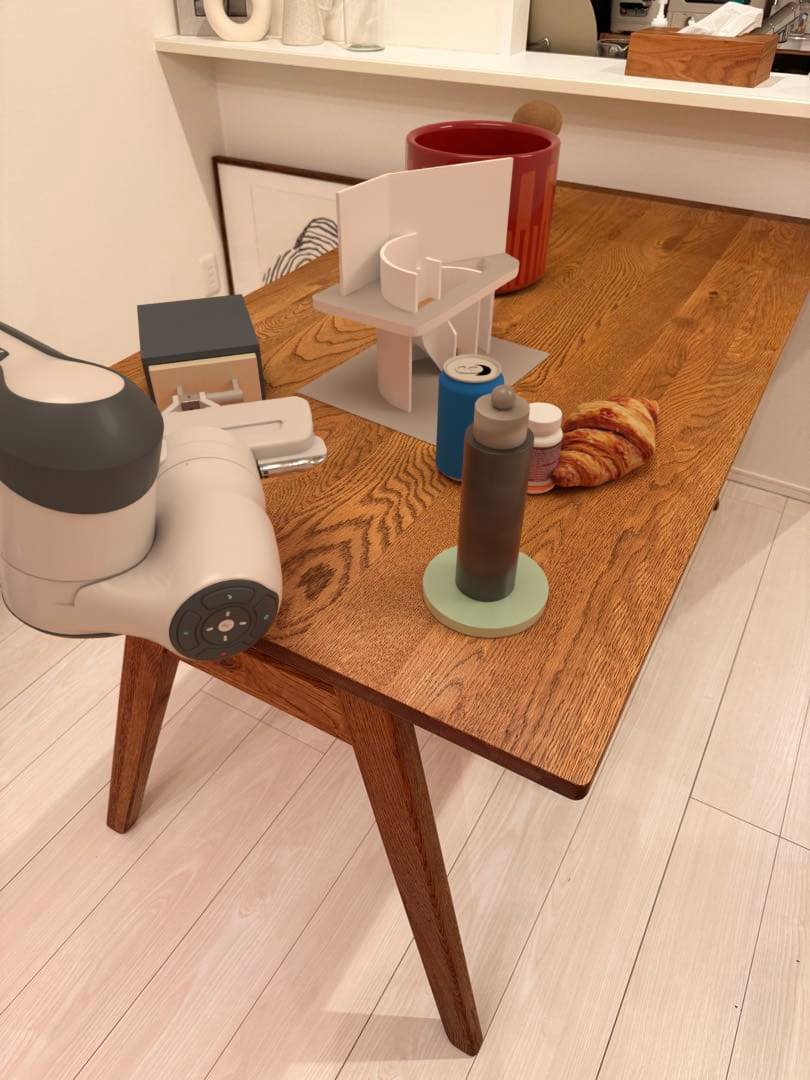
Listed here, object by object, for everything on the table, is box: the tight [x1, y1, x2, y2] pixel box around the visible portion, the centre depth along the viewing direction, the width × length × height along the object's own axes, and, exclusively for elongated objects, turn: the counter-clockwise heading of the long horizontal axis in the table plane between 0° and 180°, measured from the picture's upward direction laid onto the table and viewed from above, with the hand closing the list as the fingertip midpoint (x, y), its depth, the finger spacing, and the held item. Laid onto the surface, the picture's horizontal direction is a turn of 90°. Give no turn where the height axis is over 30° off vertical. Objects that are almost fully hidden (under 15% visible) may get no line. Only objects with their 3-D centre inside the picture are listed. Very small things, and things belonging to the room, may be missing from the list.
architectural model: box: [295, 157, 552, 447], centre depth 91 cm, size 28×21×23 cm
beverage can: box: [435, 354, 504, 483], centre depth 78 cm, size 6×6×12 cm
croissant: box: [550, 393, 660, 488], centre depth 83 cm, size 21×10×8 cm, turn 140°
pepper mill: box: [455, 385, 534, 602], centre depth 61 cm, size 5×5×19 cm
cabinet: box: [136, 293, 267, 406], centre depth 92 cm, size 15×13×9 cm
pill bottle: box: [527, 401, 563, 495], centre depth 77 cm, size 5×5×8 cm
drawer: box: [149, 353, 262, 413], centre depth 89 cm, size 18×12×7 cm, turn 17°
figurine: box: [511, 99, 563, 136], centre depth 141 cm, size 9×7×20 cm
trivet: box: [421, 545, 550, 639], centre depth 67 cm, size 11×11×1 cm
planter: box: [404, 119, 562, 296], centre depth 119 cm, size 23×23×20 cm
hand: (189, 400), depth 70 cm, fingers closed
